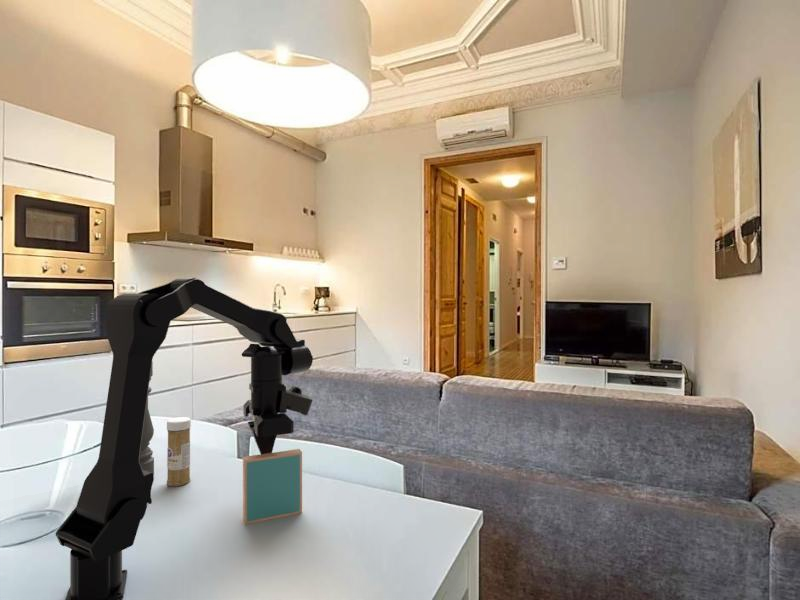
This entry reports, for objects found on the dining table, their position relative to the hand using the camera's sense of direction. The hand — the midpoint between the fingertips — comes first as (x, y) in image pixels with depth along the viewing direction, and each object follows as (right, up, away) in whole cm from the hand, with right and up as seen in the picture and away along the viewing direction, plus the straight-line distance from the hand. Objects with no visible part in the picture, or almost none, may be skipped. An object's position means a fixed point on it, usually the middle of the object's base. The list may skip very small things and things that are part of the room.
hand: (266, 461), depth 88 cm
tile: (+3, -2, -5) cm, 6 cm away
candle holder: (-32, -8, +13) cm, 36 cm away
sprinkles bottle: (-21, -8, +10) cm, 25 cm away
